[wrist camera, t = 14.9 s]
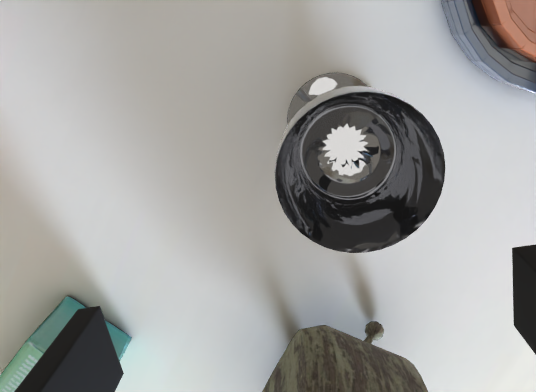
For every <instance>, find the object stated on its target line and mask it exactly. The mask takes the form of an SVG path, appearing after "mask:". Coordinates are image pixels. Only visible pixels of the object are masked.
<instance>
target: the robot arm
mask: <svg viewBox="0 0 536 392" xmlns="http://www.w3.org/2000/svg"><path fill="white" fill-rule="evenodd" d="M512 257H513V307H514V326H515V327H516V329H517V330H518V331H519V333H520V334H521V335H522V337H523V338H524V339H525V341H526V342H527V343H528V345H529V346H530V347H531V349H532V350H533V351H534V353H535V354H536V245H530V246H522V247H515V248H512ZM123 374H124V373H123V370H122V368H121V365H120V362H119V359H118V356H117V353H116V351H115V348H114V345H113V342H112V339H111V336H110V334H109V331H108V328H107V325H106V322H105V319H104V317H103V314H102V311H101V308H100V306H97V307H90V308H83V309H78V310H77V311H76V312H75V314H74V315H73V316H72V318H71V319H70V320H69V322H68V323H67V324H66V325H65V327H64V328H63V329H62V331H61V332H60V333H59V334H58V336H57V337H56V338H55V340H54V341H53V342H52V343H51V345H50V346H49V347H48V349H47V350H46V351H45V352H44V354H43V355H42V356H41V358H40V359H39V360H38V362H37V363H36V364H35V365H34V367H33V368H32V369H31V371H30V372H29V373H28V374H27V376H26V377H25V378H24V380H23V381H22V382H21V383H20V385H19V386H18V387H17V389H16V390H15V391H14V392H115V390H116V388H117V386H118V384H119V382H120V380H121V378H122V376H123Z"/></svg>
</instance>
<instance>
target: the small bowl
mask: <svg viewBox="0 0 536 392" xmlns="http://www.w3.org/2000/svg"><path fill="white" fill-rule="evenodd" d="M472 3H473V6H474V8H475V11H476V14H477V17H478V19H479V22H480V25H481V26H482V28H483V29H484V30H485V31H486V32H487V34H488V35H489V36H490V37H491V38H492V40H493V41H494V42H495V43H496V44H497V45H498V47H500V48H501V49H503V50H505V51H507V52H508V53H510V54H512V55H514V56H516V57H517V58H519V59H521V60H523V61H525V62H531V63H536V0H472Z"/></svg>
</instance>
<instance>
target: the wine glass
mask: <svg viewBox="0 0 536 392" xmlns="http://www.w3.org/2000/svg"><path fill="white" fill-rule="evenodd" d="M287 123H288V126H287V128H286V130H285V132H284V134H283V136H282V139H281V142H280V145H279V148H278V151H277V158H276V166H275V183H276V190H277V194H278V198H279V201H280V204H281V206H282V208H283V210H284V213H285V214H286V216H287V217H288V218H289V220H290V221H291V223H292V224H293V225H294V226H295V227H296V228H297V229H298V230H299V231H300V232H301V233H302V234H303V235H305V236H306V237H307V238H309V239H310V240H312V241H313V242H315V243H317V244H319V245H321V246H323V247H326V248H329V249H333V250H336V251H342V252H349V253H361V252H370V251H376V250H380V249H383V248H386V247H389V246H392V245H394V244H396V243H398V242H399V241H401V240H403V239H405V238H406V237H408V236H409V235H410V234H412V233H413V232H414V231H416V230H417V229H418V228H419V227H420V226H421V225H422V224H423V223H424V222H425V221H426V219H427V218H428V217H429V215H430V214H431V212H432V211H433V209H434V208H435V206H436V204H437V201H438V199H439V197H440V195H441V191H442V187H443V183H444V176H445V161H444V152H443V149H442V146H441V143H440V140H439V137H438V136H437V134H436V132H435V130H434V128H433V127H432V125H431V124H430V123H429V122H428V120H427V119H426V118H425V117H424V116H423V114H422V113H421V112H419V111H418V110H417V109H416V108H414V107H413V106H412V105H411V104H409V103H408V102H406V101H405V100H403V99H401V98H399V97H397V96H395V95H393V94H391V93H389V92H386V91H383V90H379V89H376V88H373V87H368V86H367V85H366V84H365V83H363V82H362V81H361V80H359V79H357V78H355V77H354V76H351V75H348V74H343V73H327V74H323V75H320V76H317V77H315V78H313V79H311V80H310V81H308V82H307V83H305V84H304V85H303V86H302V87H301V88H300V89H299V90H298V92H297V93H296V94H295V96H294V97H293V99H292V101H291V104H290V107H289V110H288V117H287Z"/></svg>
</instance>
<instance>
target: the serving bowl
mask: <svg viewBox="0 0 536 392" xmlns="http://www.w3.org/2000/svg"><path fill="white" fill-rule="evenodd" d="M442 5H443V9H444V12H445V15H446V18H447V21H448V24H449V27H450V31H451V33H452V35H453V37H454V38H455V40H456V41H457V43H458V44H459V46H460V47H461V49H462V50H463V52H464V53H465V55H466V56H467V58H468V59H469V60H470V61H471V62H473V63H474V64H475V65H476V66H478V67H479V68H480V69H481V70H483V71H484V72H485V73H486V74H488V75H489V76H490V77H491V78H493V79H495V80H498V81H500V82H503V83H505V84H508V85H510V86H513V87H515V88H518V89H521V90H525V91H529V92H533V93H536V63H531V62H525V61H523V60H521V59H519V58H517V57H516V56H514V55H512V54H510V53H508V52H507V51H505V50H503V49H501V48H500V47H498V45H497V44H496V43H495V42H494V41H493V40H492V38H491V37H490V36H489V35H488V34H487V32H486V31H485V30H484V29H483V28H482V26H481V25H480V22H479V19H478V17H477V14H476V11H475V8H474V6H473V3H472V0H442Z"/></svg>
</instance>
